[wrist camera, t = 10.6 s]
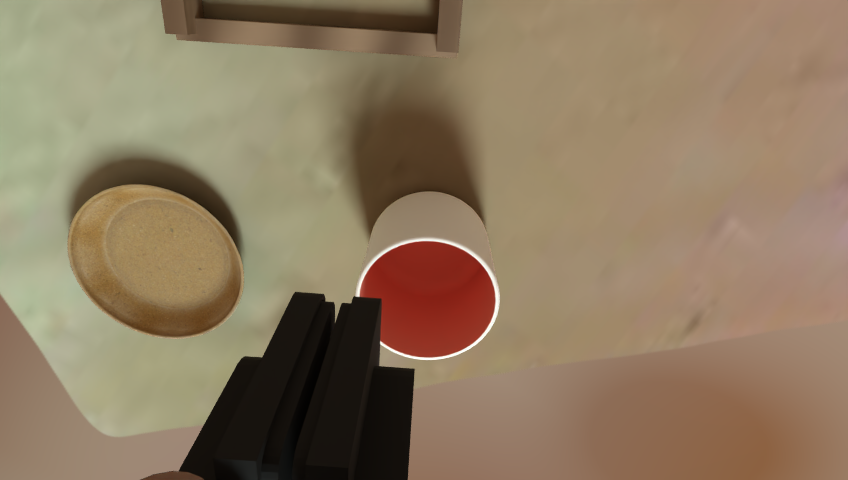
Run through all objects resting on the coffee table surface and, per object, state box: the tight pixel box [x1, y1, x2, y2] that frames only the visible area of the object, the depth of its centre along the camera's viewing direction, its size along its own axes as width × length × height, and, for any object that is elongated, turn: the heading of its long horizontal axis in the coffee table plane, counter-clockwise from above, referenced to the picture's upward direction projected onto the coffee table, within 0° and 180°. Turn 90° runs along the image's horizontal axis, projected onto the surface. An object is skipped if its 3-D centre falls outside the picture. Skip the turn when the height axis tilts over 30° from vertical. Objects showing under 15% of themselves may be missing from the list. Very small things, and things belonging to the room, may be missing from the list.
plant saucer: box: [68, 184, 244, 339], centre depth 45 cm, size 15×15×3 cm
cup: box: [355, 191, 500, 360], centre depth 40 cm, size 10×10×10 cm
